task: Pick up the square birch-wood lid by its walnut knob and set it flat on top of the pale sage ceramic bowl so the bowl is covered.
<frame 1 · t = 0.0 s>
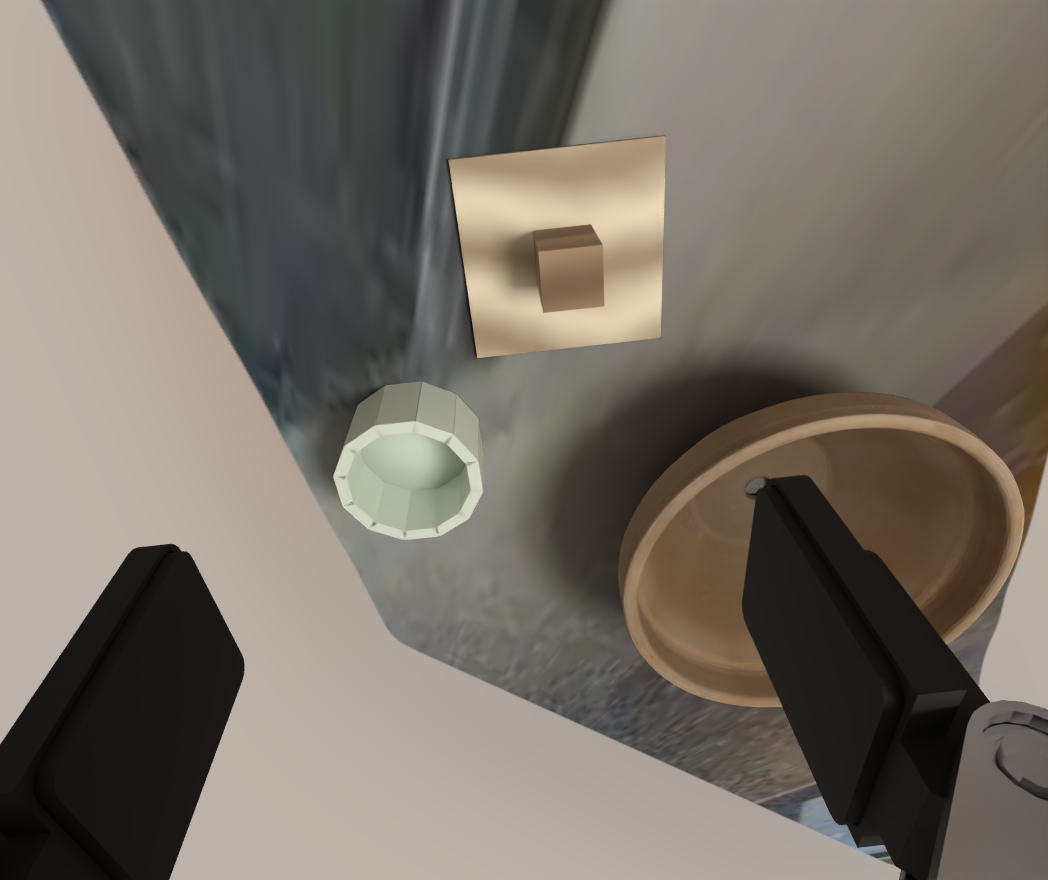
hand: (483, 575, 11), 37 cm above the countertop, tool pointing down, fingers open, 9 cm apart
flower pot: (754, 478, 57), on the countertop
lid: (562, 252, 45), on the countertop
bowl: (416, 440, 52), on the countertop
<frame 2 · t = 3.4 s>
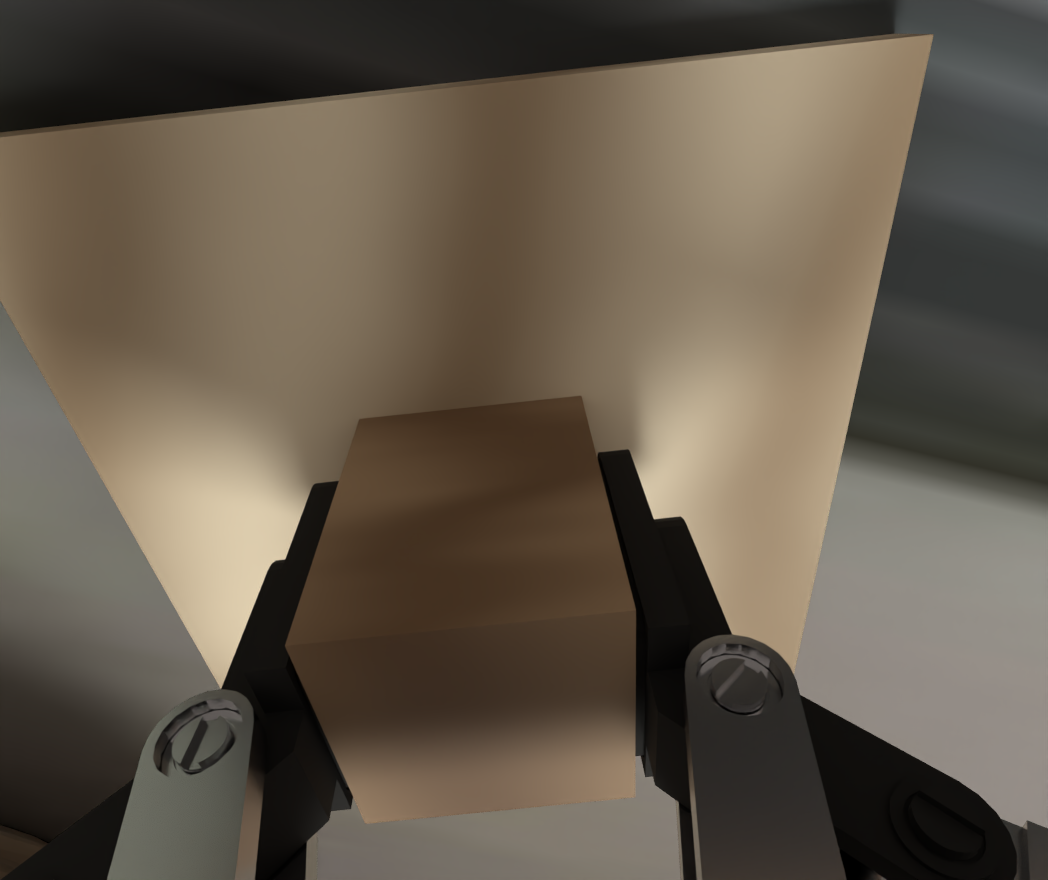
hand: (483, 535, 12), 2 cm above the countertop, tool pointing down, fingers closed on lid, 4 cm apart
lid: (484, 465, 13), on the countertop, touching gripper
when the fingers open (9 cm above the countertop, at t = 8.1 s): lid stays where it is, resting on bowl.
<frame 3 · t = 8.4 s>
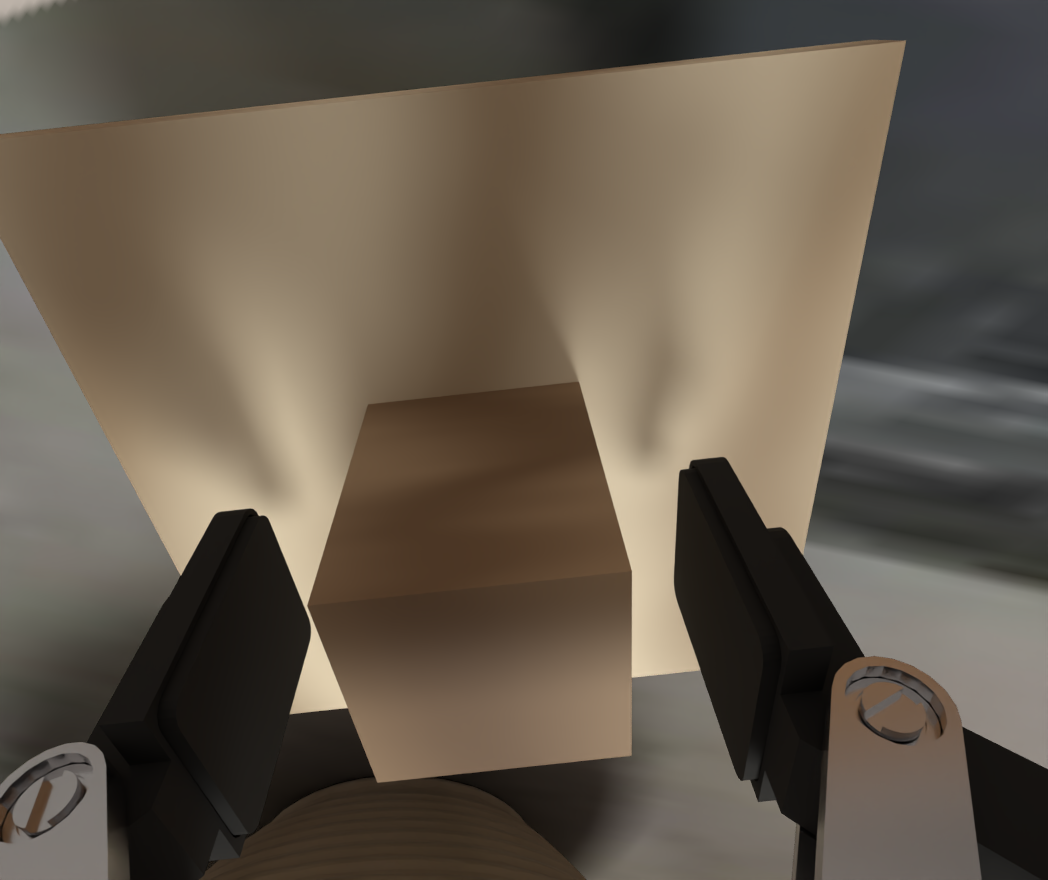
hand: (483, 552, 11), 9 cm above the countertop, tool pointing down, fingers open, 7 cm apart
flower pot: (405, 838, 35), on the countertop
lid: (486, 451, 14), point 6 cm above the countertop, touching bowl
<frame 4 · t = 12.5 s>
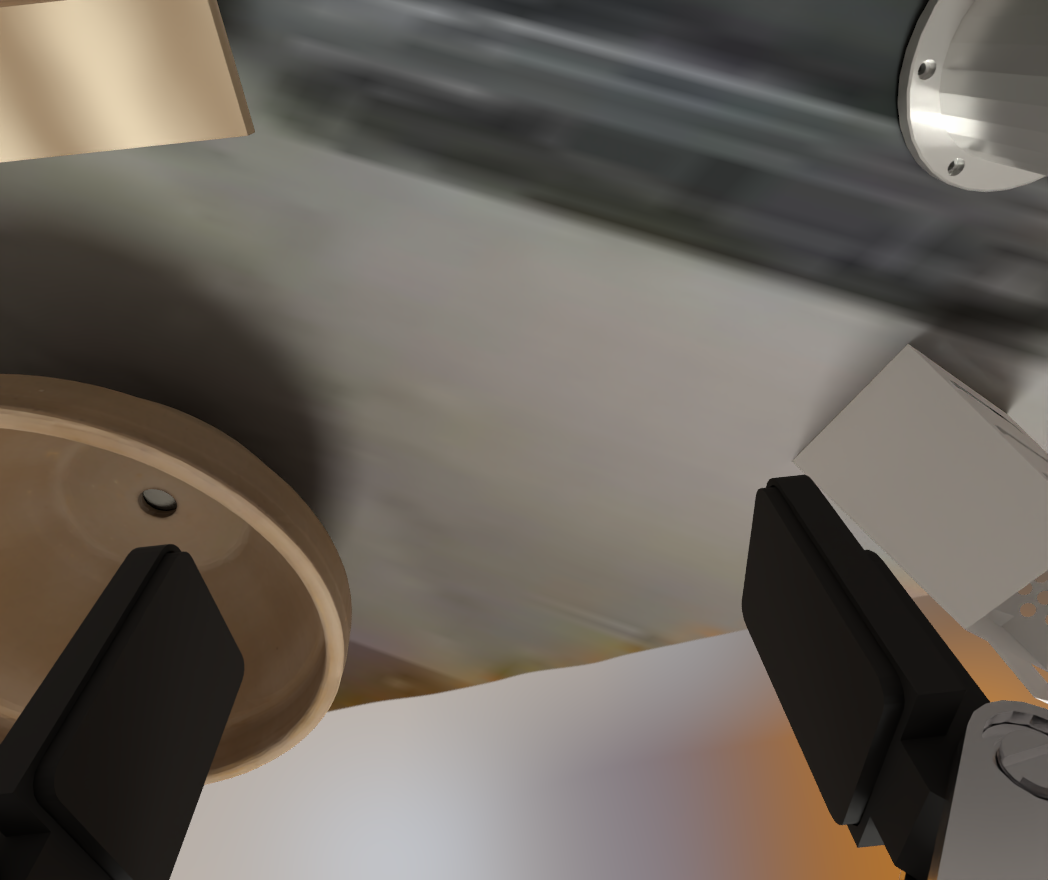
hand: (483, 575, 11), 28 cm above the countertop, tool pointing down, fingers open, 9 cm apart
flower pot: (168, 492, 44), on the countertop
grater: (896, 436, 45), on the countertop
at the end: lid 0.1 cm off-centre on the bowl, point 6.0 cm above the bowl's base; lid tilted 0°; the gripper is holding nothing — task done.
